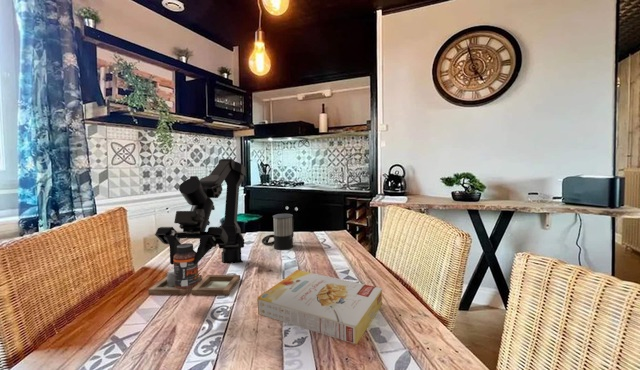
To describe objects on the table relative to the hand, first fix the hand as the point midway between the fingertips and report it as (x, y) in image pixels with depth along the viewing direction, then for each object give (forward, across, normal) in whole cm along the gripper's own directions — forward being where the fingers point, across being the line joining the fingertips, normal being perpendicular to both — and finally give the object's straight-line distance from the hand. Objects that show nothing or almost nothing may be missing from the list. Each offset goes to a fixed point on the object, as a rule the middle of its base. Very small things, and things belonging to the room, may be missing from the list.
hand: (183, 263), depth 77 cm
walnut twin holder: (0, -3, +18) cm, 18 cm away
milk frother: (-32, +14, +51) cm, 62 cm away
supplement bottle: (+4, 0, +6) cm, 7 cm away
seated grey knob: (0, -9, +17) cm, 20 cm away
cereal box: (+8, +37, +11) cm, 39 cm away
